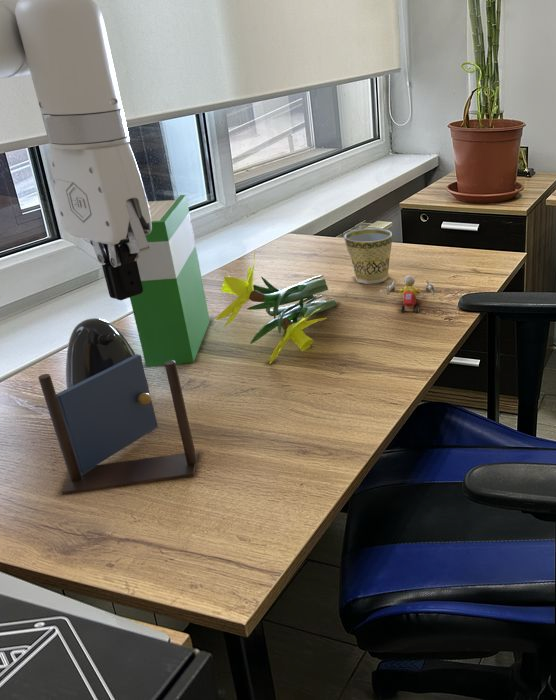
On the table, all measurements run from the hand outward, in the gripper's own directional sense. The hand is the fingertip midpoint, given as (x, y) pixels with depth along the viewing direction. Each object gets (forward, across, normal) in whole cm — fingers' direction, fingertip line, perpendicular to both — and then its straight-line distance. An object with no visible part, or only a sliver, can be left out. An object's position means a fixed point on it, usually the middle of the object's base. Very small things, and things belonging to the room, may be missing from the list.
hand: (127, 295), depth 81 cm
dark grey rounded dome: (+23, -16, +4) cm, 29 cm away
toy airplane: (+23, -4, +59) cm, 64 cm away
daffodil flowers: (+23, -14, +37) cm, 46 cm away
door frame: (+23, -1, -4) cm, 23 cm away
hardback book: (+23, -29, +25) cm, 45 cm away
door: (+22, -6, -2) cm, 23 cm away
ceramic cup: (+23, -21, +68) cm, 75 cm away
